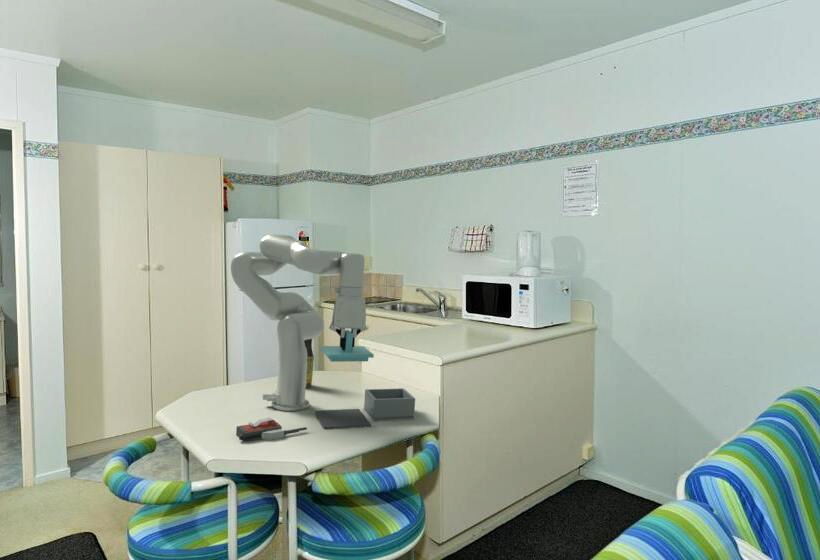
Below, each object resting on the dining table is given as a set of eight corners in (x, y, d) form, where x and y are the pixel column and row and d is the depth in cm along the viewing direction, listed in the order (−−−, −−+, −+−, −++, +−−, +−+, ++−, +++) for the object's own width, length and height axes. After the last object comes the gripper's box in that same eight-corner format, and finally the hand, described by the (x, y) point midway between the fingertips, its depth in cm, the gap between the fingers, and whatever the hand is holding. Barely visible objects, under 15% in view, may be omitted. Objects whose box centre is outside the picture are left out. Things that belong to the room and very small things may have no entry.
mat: (323, 429, 163) (323, 427, 163) (314, 412, 178) (315, 410, 178) (371, 426, 168) (371, 424, 168) (358, 410, 183) (359, 408, 183)
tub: (373, 421, 174) (374, 399, 173) (363, 409, 185) (365, 389, 185) (413, 419, 178) (415, 398, 178) (402, 407, 190) (403, 388, 189)
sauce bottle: (302, 389, 204) (305, 337, 203) (291, 385, 208) (294, 334, 207) (315, 386, 210) (318, 335, 208) (304, 382, 213) (307, 333, 212)
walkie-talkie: (242, 446, 147) (308, 434, 159) (243, 430, 147) (309, 419, 159) (231, 436, 154) (294, 425, 166) (231, 421, 153) (295, 411, 166)
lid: (327, 362, 164) (329, 335, 163) (320, 353, 175) (321, 327, 175) (373, 362, 169) (375, 335, 168) (363, 353, 180) (364, 328, 180)
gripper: (328, 292, 164) (324, 351, 166) (377, 294, 170) (373, 351, 171) (323, 289, 171) (320, 346, 173) (371, 291, 177) (367, 347, 178)
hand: (346, 348), depth 172 cm, fingers closed on lid
